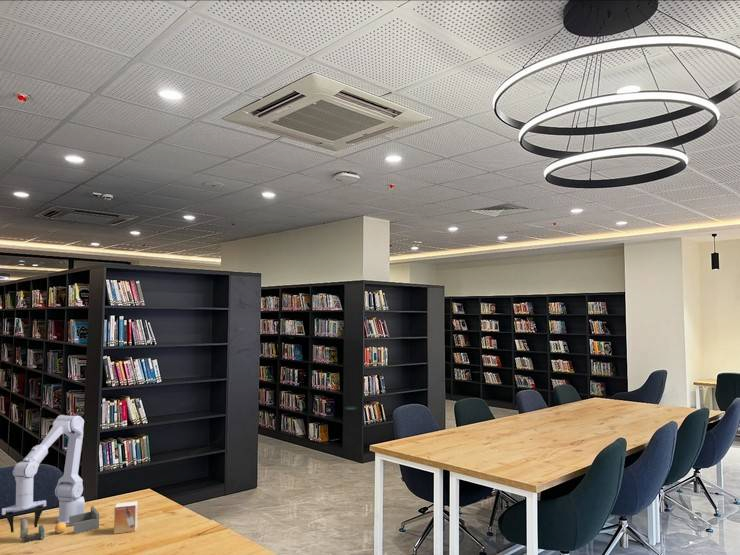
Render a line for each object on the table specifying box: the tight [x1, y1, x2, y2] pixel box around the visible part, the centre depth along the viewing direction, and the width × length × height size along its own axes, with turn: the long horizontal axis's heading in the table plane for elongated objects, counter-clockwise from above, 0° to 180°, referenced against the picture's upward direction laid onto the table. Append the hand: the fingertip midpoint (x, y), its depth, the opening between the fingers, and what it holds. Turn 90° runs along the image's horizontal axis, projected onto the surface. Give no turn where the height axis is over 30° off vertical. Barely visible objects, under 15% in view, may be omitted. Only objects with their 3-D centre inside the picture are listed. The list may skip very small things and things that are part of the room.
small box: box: [113, 500, 139, 535], centre depth 221 cm, size 8×6×10 cm
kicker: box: [19, 516, 45, 542], centre depth 214 cm, size 8×6×8 cm
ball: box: [54, 522, 67, 534], centre depth 220 cm, size 4×4×4 cm
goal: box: [68, 505, 100, 535], centre depth 225 cm, size 9×11×6 cm
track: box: [23, 532, 41, 544], centre depth 214 cm, size 5×4×1 cm
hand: (23, 529), depth 212 cm, fingers open, 7 cm apart
